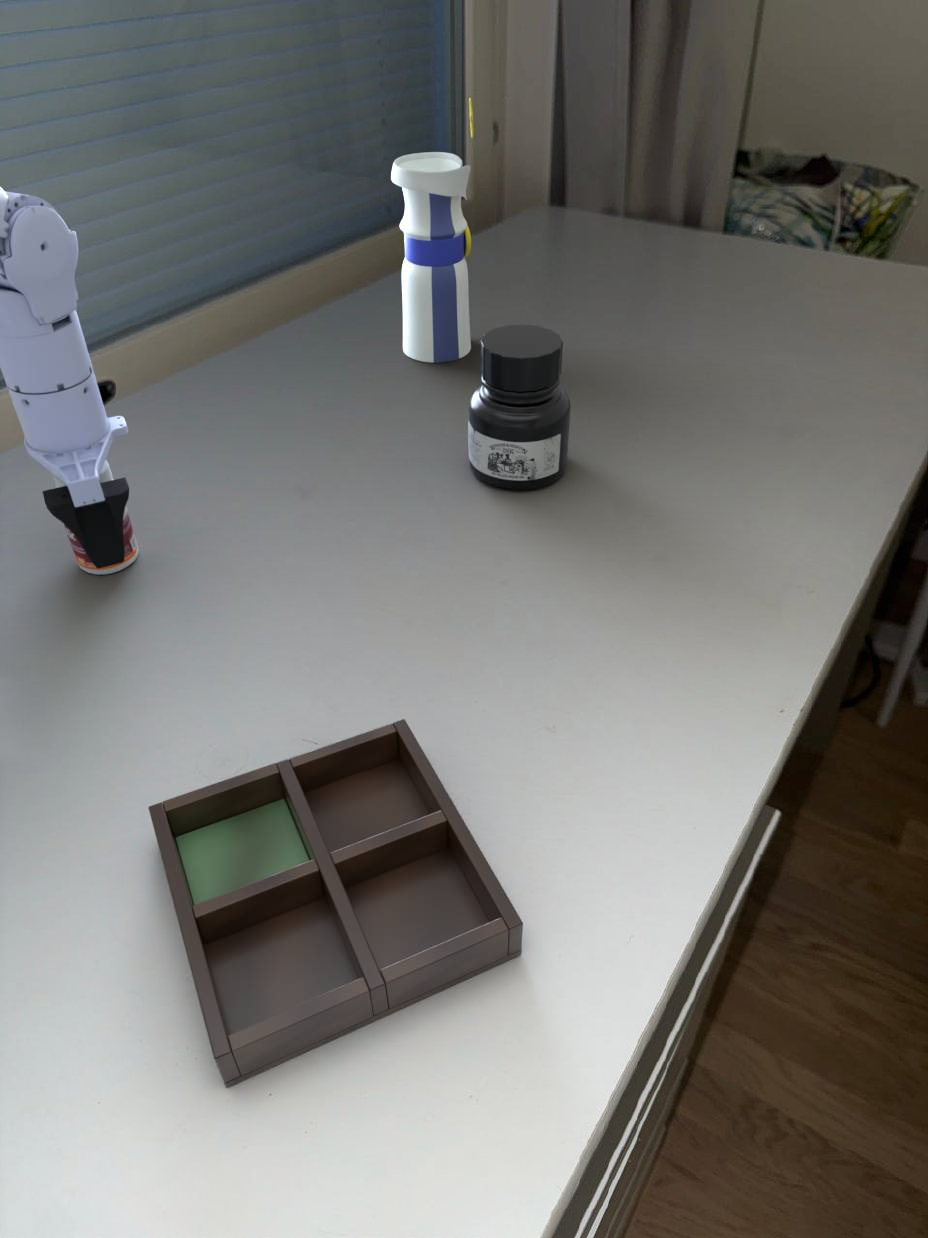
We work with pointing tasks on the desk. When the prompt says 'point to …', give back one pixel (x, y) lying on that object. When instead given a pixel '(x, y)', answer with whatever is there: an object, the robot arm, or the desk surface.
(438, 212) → the water bottle
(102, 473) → the pill bottle
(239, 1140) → the desk surface
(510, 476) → the ink bottle
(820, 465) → the desk surface
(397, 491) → the desk surface
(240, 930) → the tray
